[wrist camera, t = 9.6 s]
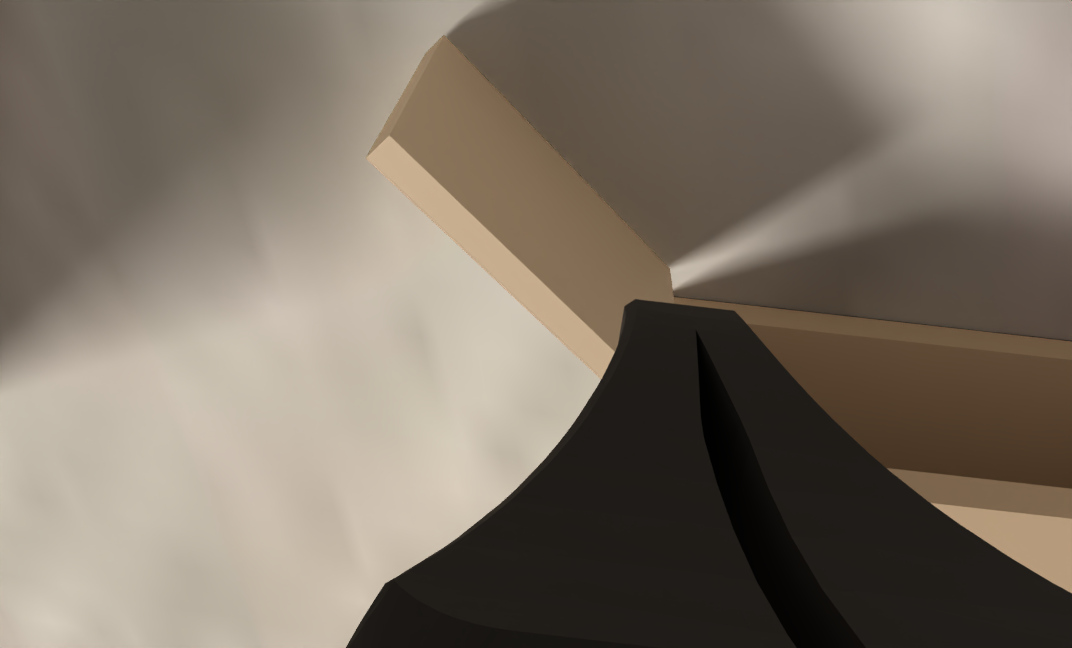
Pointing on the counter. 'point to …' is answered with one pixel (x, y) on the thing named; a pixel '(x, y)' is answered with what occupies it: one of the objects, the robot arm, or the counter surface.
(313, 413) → the counter surface
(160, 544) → the counter surface
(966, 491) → the cardboard box
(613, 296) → the flap
